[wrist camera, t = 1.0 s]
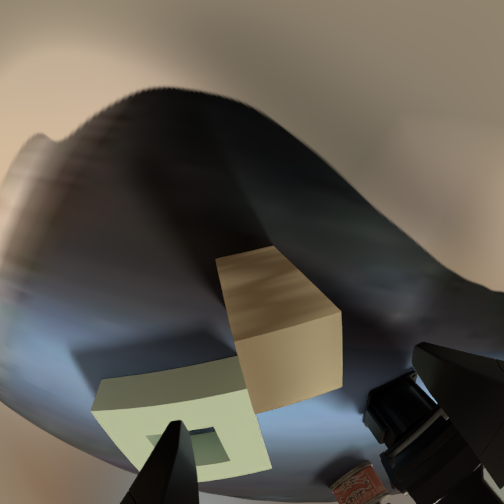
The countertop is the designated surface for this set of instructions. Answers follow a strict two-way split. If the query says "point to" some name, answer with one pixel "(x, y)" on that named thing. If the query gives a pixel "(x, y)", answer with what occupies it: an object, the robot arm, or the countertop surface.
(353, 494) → the lighter
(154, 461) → the robot arm
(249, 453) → the well holder
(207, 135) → the countertop surface
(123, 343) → the countertop surface
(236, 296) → the peg
